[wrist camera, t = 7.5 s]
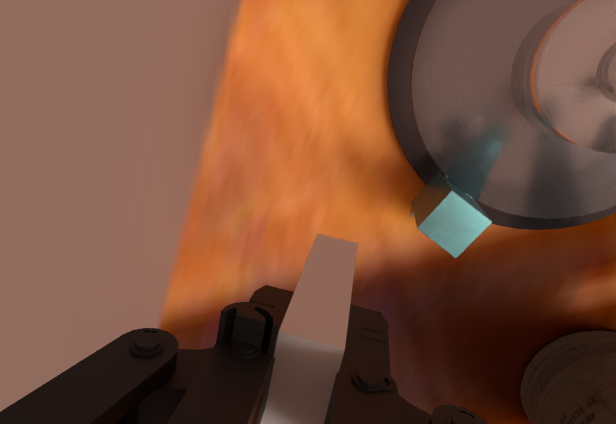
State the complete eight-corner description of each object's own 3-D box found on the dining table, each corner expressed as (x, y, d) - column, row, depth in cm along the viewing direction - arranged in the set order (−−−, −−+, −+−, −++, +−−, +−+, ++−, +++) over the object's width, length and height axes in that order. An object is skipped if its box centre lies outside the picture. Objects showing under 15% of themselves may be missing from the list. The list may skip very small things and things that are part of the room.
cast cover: (523, 153, 28) (566, 177, 21) (499, 25, 26) (539, 7, 19) (665, 117, 26) (761, 131, 19) (650, -24, 24) (751, -63, 18)
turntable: (555, -158, 25) (608, -229, 19) (788, 43, 26) (906, 33, 20) (326, 143, 32) (313, 157, 26) (515, 291, 33) (544, 337, 27)
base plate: (429, 255, 34) (430, 259, 33) (350, -29, 29) (349, -31, 28) (747, 181, 29) (757, 183, 28) (716, -177, 24) (727, -186, 23)
